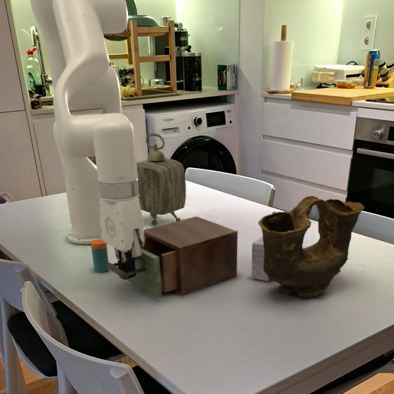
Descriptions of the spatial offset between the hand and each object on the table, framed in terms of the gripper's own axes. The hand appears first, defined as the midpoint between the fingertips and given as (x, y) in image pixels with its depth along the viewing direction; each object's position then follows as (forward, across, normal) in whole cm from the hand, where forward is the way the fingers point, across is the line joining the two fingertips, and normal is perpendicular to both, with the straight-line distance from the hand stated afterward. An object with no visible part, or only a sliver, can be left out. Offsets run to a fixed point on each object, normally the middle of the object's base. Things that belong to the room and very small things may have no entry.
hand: (127, 277), depth 108 cm
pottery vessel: (+5, +22, +31) cm, 39 cm away
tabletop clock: (+4, -38, +34) cm, 51 cm away
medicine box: (+5, +11, +30) cm, 33 cm away
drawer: (+3, 0, +7) cm, 8 cm away
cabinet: (+4, 0, +17) cm, 17 cm away
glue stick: (+4, -17, +3) cm, 18 cm away
